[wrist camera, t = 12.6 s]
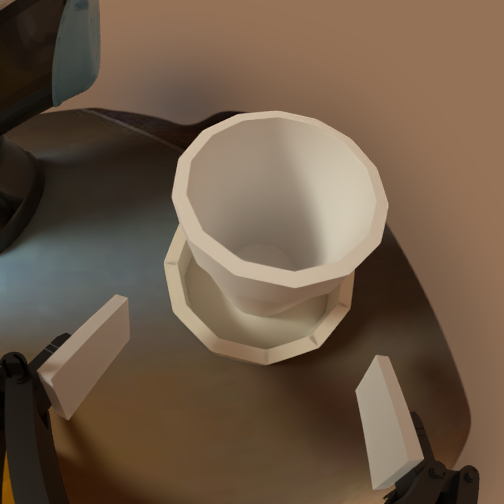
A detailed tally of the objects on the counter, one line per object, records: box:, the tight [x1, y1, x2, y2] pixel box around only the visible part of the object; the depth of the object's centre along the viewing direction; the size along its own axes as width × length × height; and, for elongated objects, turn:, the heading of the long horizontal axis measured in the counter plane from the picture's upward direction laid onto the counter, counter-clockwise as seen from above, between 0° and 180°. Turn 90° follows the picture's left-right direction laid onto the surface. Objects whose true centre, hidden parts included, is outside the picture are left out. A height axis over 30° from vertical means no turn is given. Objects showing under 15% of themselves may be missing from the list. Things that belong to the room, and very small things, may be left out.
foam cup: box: [172, 111, 388, 317], centre depth 17 cm, size 10×9×13 cm
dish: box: [164, 223, 355, 366], centre depth 22 cm, size 14×14×4 cm
